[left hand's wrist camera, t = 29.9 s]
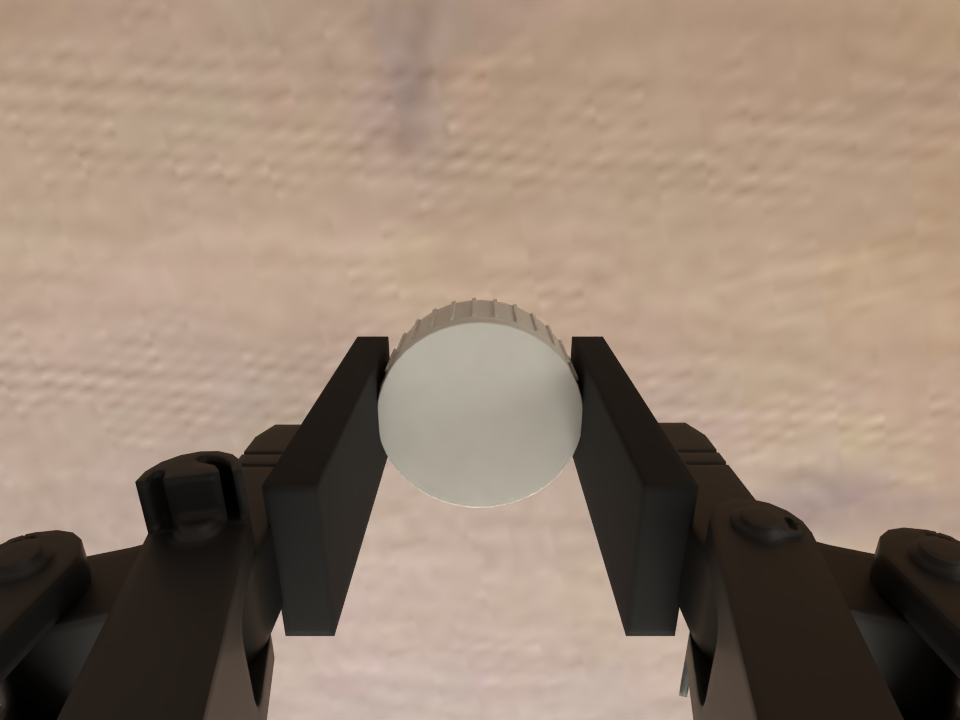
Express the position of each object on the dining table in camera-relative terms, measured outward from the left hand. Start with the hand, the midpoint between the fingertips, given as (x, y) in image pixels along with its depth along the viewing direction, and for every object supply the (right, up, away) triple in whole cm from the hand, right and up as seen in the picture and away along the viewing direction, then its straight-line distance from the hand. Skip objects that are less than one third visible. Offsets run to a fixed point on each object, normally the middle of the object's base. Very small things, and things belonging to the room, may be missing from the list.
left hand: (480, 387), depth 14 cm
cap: (0, -1, -1) cm, 2 cm away
